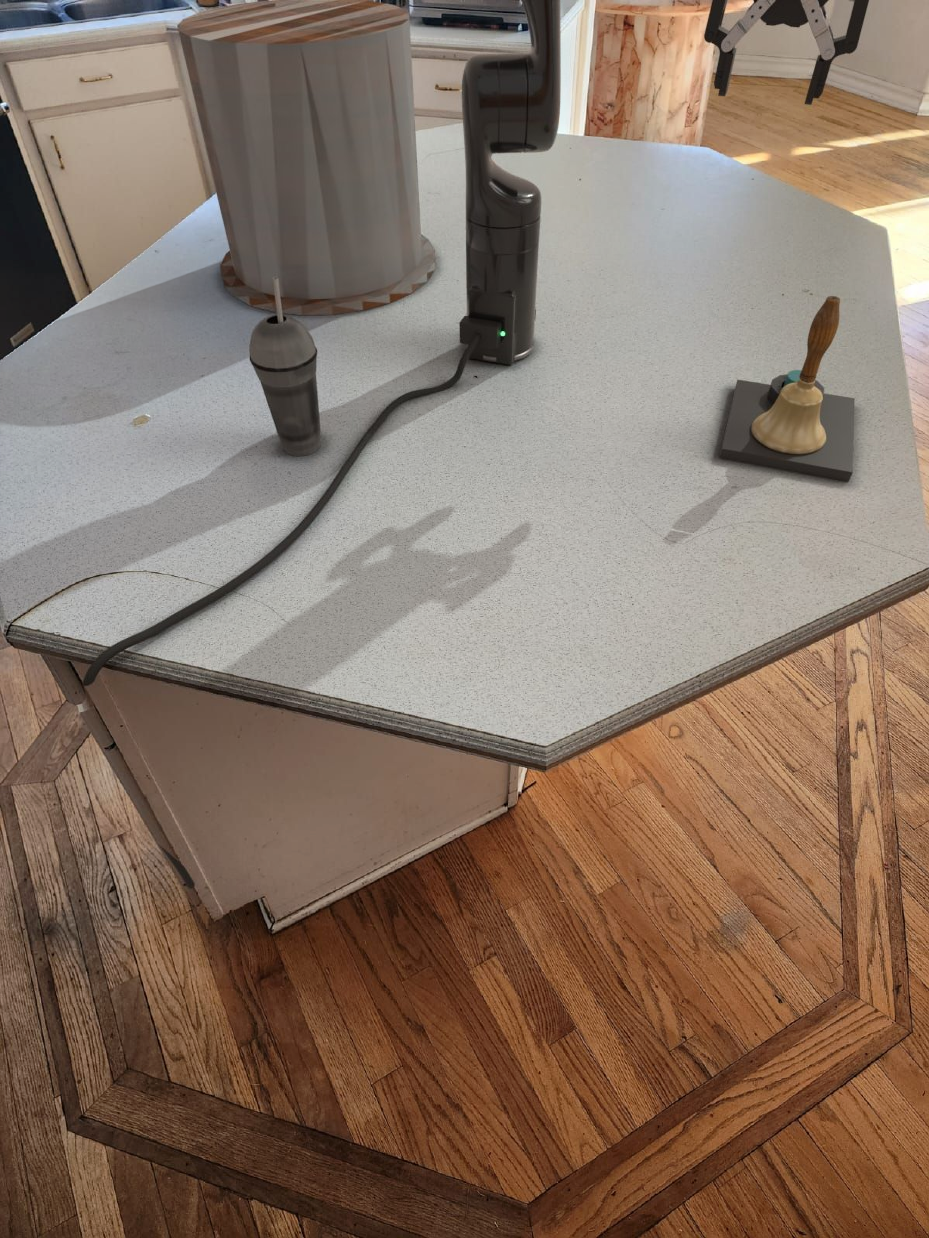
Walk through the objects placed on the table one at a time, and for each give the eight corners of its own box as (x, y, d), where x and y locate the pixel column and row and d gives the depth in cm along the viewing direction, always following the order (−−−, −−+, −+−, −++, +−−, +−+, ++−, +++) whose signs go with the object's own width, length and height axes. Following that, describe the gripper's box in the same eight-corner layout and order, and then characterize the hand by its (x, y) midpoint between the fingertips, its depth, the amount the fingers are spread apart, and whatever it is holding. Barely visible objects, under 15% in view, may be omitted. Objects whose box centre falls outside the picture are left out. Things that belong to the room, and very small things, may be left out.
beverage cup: (304, 421, 93) (271, 254, 79) (345, 442, 90) (319, 272, 76) (258, 448, 90) (214, 278, 75) (300, 470, 86) (263, 297, 72)
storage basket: (478, 255, 127) (478, 10, 103) (334, 337, 108) (293, 61, 84) (327, 211, 141) (296, -12, 117) (176, 277, 122) (104, 27, 99)
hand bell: (814, 463, 84) (868, 324, 72) (740, 440, 87) (781, 304, 75) (834, 427, 88) (888, 291, 77) (763, 407, 92) (805, 273, 80)
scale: (848, 482, 84) (858, 460, 81) (718, 458, 87) (725, 436, 85) (850, 406, 94) (859, 384, 92) (735, 387, 97) (741, 365, 95)
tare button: (810, 398, 90) (814, 385, 89) (782, 394, 91) (786, 381, 90) (811, 385, 92) (816, 372, 91) (784, 381, 93) (788, 368, 92)
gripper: (729, -120, 65) (688, 103, 77) (908, -115, 61) (836, 117, 73) (740, -129, 69) (700, 82, 81) (908, -125, 66) (840, 94, 78)
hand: (765, 98), depth 77 cm, fingers open, 8 cm apart
